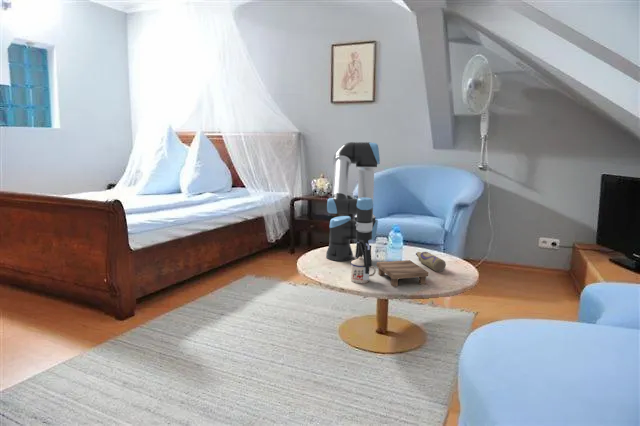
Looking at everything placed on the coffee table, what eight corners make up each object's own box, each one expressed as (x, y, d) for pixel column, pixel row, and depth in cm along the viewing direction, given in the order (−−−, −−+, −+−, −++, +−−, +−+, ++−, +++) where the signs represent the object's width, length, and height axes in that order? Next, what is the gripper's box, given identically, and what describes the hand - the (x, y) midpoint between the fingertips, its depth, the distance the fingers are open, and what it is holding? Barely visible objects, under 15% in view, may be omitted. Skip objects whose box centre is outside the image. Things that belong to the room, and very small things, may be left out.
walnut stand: (376, 273, 216) (376, 262, 215) (409, 271, 221) (409, 260, 220) (392, 287, 197) (392, 274, 196) (427, 284, 202) (428, 272, 201)
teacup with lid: (350, 283, 202) (350, 259, 200) (350, 277, 211) (350, 254, 209) (376, 284, 201) (376, 260, 199) (375, 277, 210) (375, 254, 208)
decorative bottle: (446, 271, 221) (447, 259, 220) (433, 272, 219) (433, 260, 218) (423, 257, 246) (423, 246, 245) (411, 258, 244) (411, 247, 243)
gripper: (349, 226, 212) (348, 269, 216) (364, 236, 191) (362, 284, 195) (363, 225, 213) (362, 268, 218) (380, 235, 193) (378, 283, 197)
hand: (362, 276), depth 206 cm, fingers closed on teacup with lid, 9 cm apart
